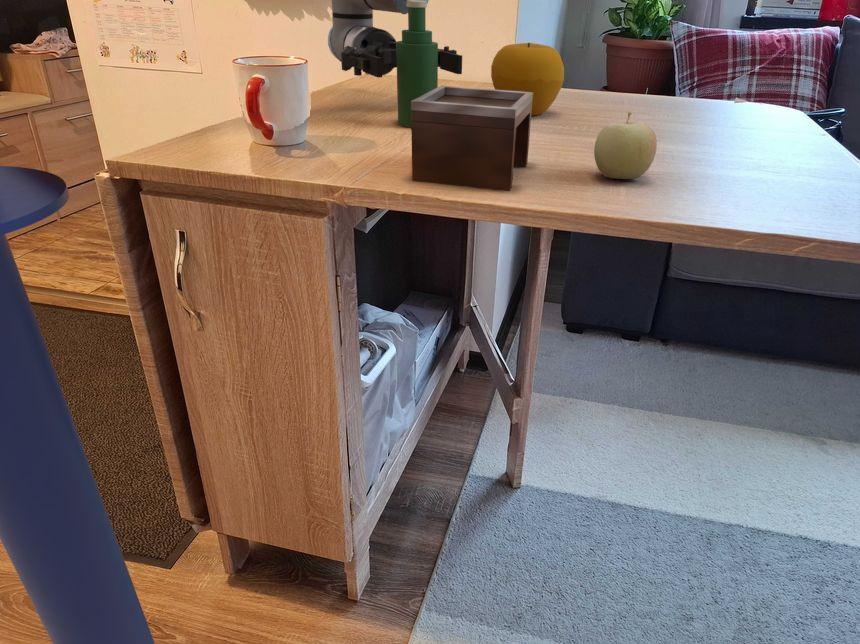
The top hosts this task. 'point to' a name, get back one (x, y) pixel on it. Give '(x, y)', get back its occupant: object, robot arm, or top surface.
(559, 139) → the top surface
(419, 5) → the bottle
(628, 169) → the fruit
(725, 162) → the top surface
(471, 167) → the brown wooden box
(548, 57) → the apple
